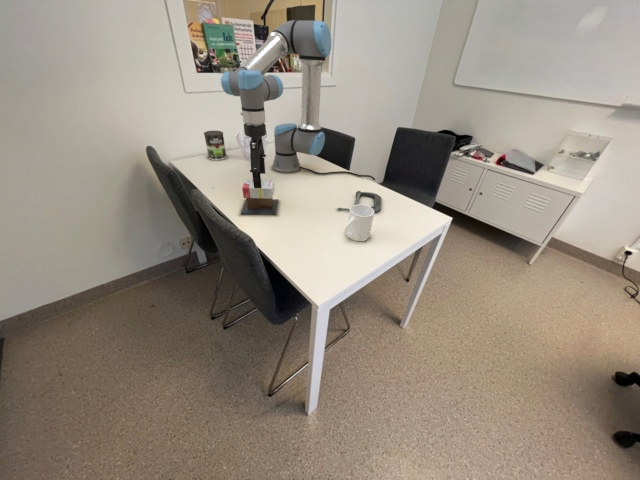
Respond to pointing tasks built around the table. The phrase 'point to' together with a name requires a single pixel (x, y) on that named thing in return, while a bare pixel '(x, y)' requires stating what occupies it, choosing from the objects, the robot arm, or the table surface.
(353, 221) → the mug
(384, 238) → the table surface
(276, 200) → the stand
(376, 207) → the c clamp
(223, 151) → the coffee can
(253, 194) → the ink box
